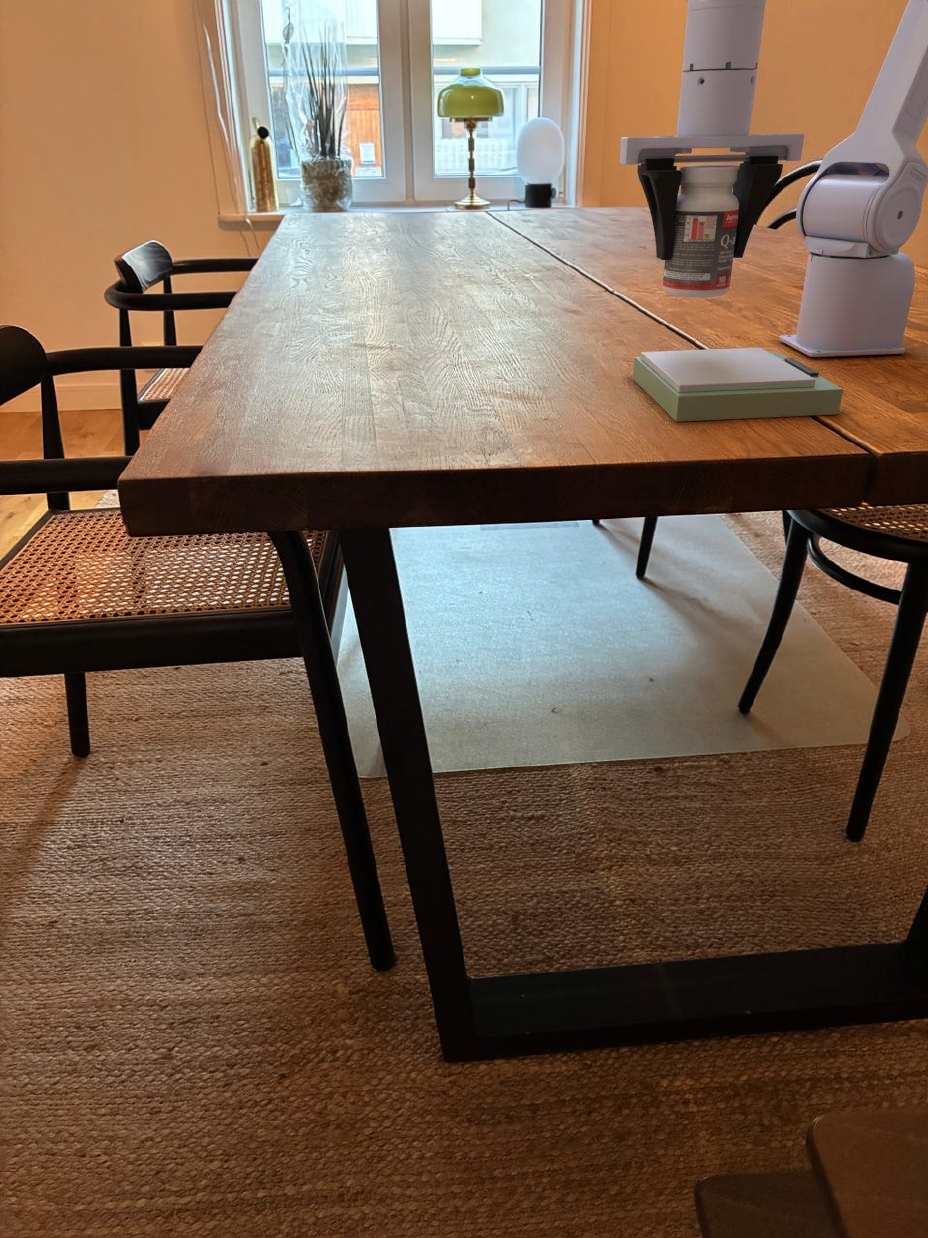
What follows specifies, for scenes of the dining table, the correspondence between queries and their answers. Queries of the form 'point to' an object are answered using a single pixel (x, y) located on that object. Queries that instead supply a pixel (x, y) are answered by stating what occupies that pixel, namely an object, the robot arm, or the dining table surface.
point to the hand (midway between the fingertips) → (699, 257)
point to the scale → (734, 384)
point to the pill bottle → (703, 232)
